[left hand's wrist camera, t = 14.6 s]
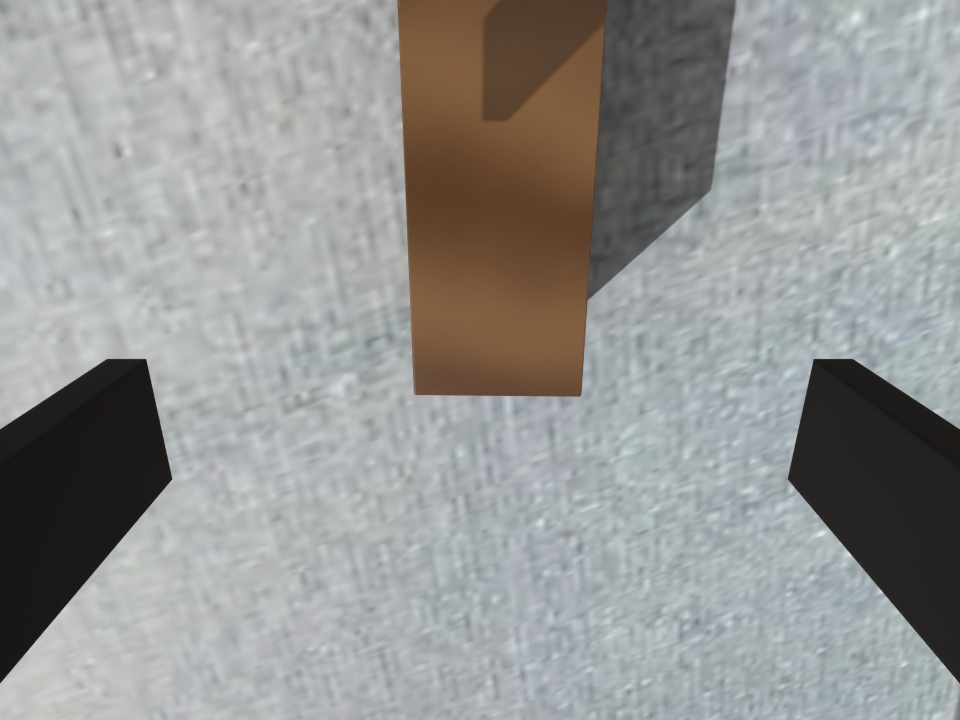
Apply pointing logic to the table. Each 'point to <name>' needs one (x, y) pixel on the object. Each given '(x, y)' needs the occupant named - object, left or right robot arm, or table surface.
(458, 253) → the bar
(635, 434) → the table surface
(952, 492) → the left robot arm
